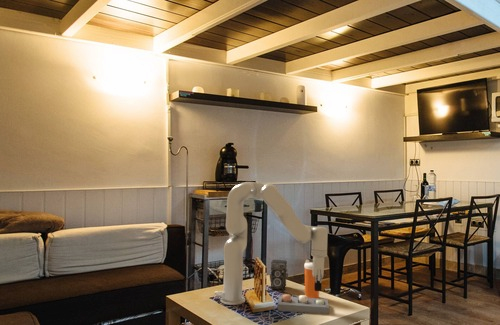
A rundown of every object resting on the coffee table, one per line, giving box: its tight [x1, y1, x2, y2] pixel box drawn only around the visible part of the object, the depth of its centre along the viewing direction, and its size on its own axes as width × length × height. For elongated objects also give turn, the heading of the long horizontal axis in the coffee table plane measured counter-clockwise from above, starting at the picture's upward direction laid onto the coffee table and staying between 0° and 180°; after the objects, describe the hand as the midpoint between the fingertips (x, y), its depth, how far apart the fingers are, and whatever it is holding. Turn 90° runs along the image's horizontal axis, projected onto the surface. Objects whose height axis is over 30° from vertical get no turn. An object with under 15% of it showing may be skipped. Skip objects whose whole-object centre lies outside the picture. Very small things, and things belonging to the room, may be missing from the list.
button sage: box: [316, 300, 324, 305], centre depth 197 cm, size 4×4×3 cm
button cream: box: [298, 294, 307, 304], centre depth 198 cm, size 4×4×3 cm
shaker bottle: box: [303, 257, 320, 299], centre depth 214 cm, size 9×9×20 cm
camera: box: [269, 259, 289, 291], centre depth 227 cm, size 10×10×15 cm
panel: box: [277, 295, 330, 315], centre depth 198 cm, size 24×12×3 cm, turn 84°
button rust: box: [282, 293, 292, 303], centre depth 199 cm, size 4×4×3 cm
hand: (317, 290), depth 198 cm, fingers closed
